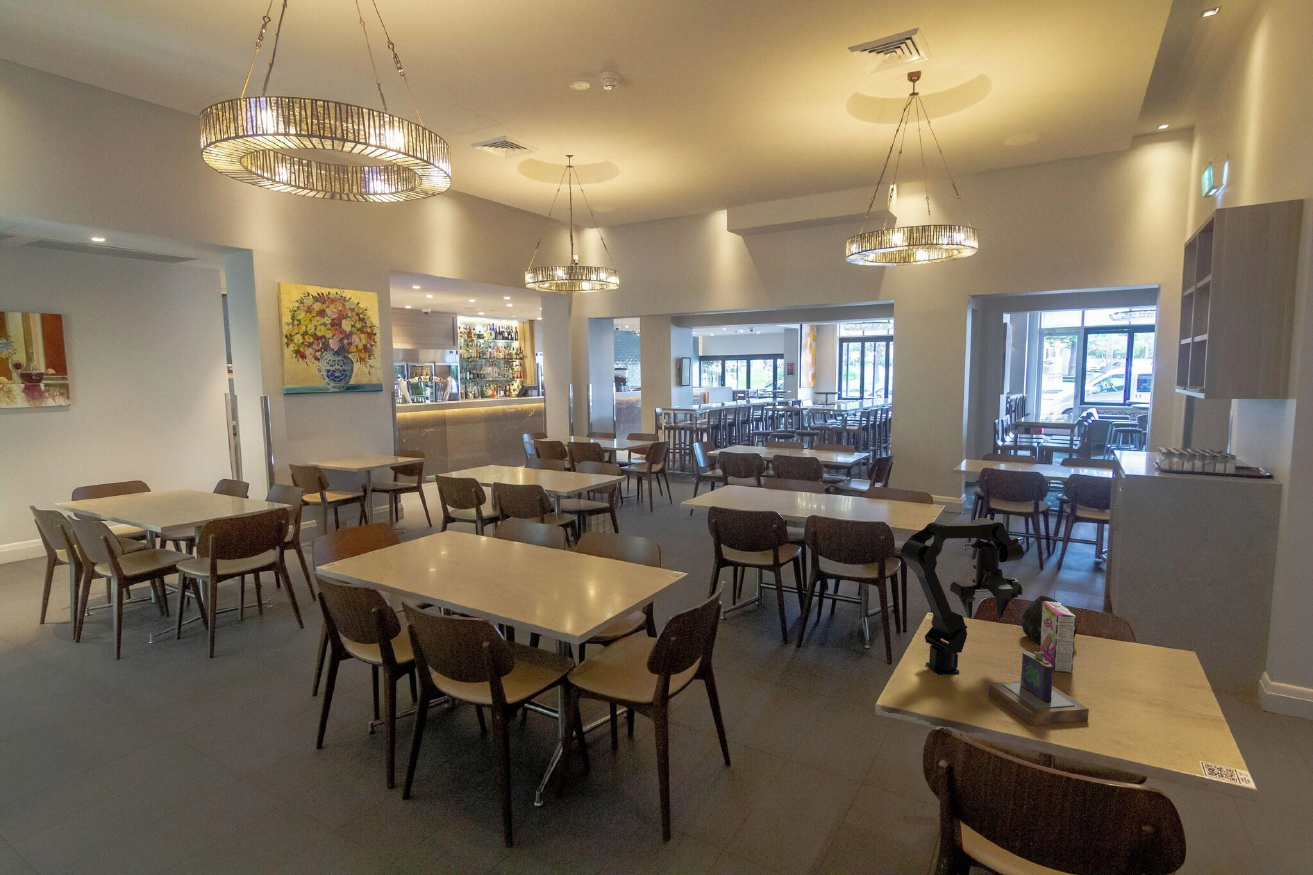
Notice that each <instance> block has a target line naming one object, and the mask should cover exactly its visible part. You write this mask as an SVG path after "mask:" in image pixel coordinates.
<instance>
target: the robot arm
mask: <svg viewBox="0 0 1313 875" xmlns="http://www.w3.org/2000/svg"><path fill="white" fill-rule="evenodd" d="M932 538H933V541H932V543H931V544H930V545H928V544H924V543H926V542H927V541H929V540H931V539H932ZM948 539H949V540H950V539H951V540H954V539H977V540H976V541H975V542H973V543H972V544H971V546H970V547H971V548H972V549H976V563H975V564H973V565H972V568H973V569H974V570H975V578H972V583H973V584H971V583H968V582H966V581H965V580H963V581H962V580H961V581H959V580H957V581H952V582H951V583H950V586H949V588H950V590H949V591H950V592H952V593H953V594H955V595H956V596H958V598H959V600H960V602H961V604H962V607H963V609H964V611H965V614H966V617H967V618H968V619H969V620H971V619H972V616H973V605H974V604H973V602H974V601H975V600H976V597H974V596H975V595H976V593H977V592H978V593H979V592H982V593H983V592H990V593H991V594H992V596H993V597H994V598H995V600H996V601H995V602H996V603H995V605H996V615H997V617H998V618H1002V617H1003V615H1004V612H1005V611H1006V609H1007V606H1008V605H1009V603H1010V601H1012V600H1013V599H1016V598H1018V597H1019V596H1022V595H1023V590H1024V588H1023V586H1022V585H1021V584H1020V583H1019V580H1018V579H1017V578H1005V577H1003V572H1004V571H1003V570H1002V569H1001V568H1000V563H1009V562H1011V563H1012V562H1019V561H1021V560H1022V559H1023V558H1024V555H1025V551H1024V548H1023V546H1022V544H1021V543H1020V542H1019V538H1018V537H1014V536H1010V535H1009V534H1008V532H1007V530H1006V528H1005V525H1004V523H1003V522H1001V521H996V520H993V519H989V518H985V517H979V518H976V519H972V520H971V521H969V522H936V521H935V522H934V521H933V522H929V523H927V525H926V526H925V527H924V528H923V529H921V530H919V531H917V532H915V533H913V534H912V535H911V536H910V537H909V539H907V540H906V541H905V542H904V543H903V545H902V547H901V549H900V555H901V558H902V559H903V560H904V562H905V563H906V565H907V567H909V569H911V570H912V571H913V573H914V574H916V575H915V576H916V577H917V579H918V581H919V584H920V586H921V589H922V592H923V593H924V597H925V599H926V601H927V603H928V606H929V607H930V610H931V613H932V619H931V628H930V629H929V630H928V631H927V633H926V634H925V635H924V640H925V643H926V644H929V659H928V662H925V665H926V666H927V667H928V668H929V669H931V670H932V671H933V672H935V674H937V675H948V674H950V675H951V674H960V670H959V669H958V665H959V662H958V661H959V654H960V653H962V652H963V649H964V646H965V643H966V640H967V636H968V631H967V630H968V628H969V627H968V626H967V625H966V623H965V619H964V617H963V615H961V614H959V613H956V612H954V611H952V609H951V607H950V604H949V601H948V599H947V597H946V594H945V592H944V590H943V587H942V584H941V582H940V579H939V577H938V574H937V572H936V567H937V564H938V560H937V558H938V556H939V555H940V554H941V553H942V552H943V551H942V550H943V547H944V542H945V541H946V540H948Z"/></svg>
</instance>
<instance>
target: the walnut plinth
mask: <svg viewBox="0 0 1313 875" xmlns="http://www.w3.org/2000/svg"><path fill="white" fill-rule="evenodd" d="M1020 683H1021V680H1016V681H1001V682H989V686H988V695H989V696H990V697H992V698H993V699H994V700H995V701H997V702H998V703H1000V704H1001V705H1003V706H1004V707H1005V708H1006V709H1008V710H1009V711H1010V712H1012V714H1015V715H1016V716H1017V717H1019V718H1020V719H1021V720H1023V721H1024V722H1025V723H1026V724H1028V725H1029V726H1039V725H1041V726H1043V725H1053V724H1054V725H1056V724H1069V723H1078V722H1088V721H1089V715H1090V714H1089V713H1090V712H1089V711H1090V708H1088V707H1087V706H1085V705H1084V704H1082V703H1081V702H1079V701H1077V700H1076V699H1074V698H1072V697H1071V696H1069V695H1067V694H1066V693H1065V692H1063V691H1061V689H1058V688H1057V687H1055V686H1054V685H1052V694H1051V703H1046V702H1043V701H1041V700H1040V699H1038V697H1035V695H1033V694H1031V693H1029V692H1028V691H1027V690H1025V689H1023V688H1022V687H1021V685H1020Z"/></svg>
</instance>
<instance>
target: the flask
mask: <svg viewBox="0 0 1313 875" xmlns="http://www.w3.org/2000/svg"><path fill="white" fill-rule="evenodd" d="M1042 653H1043V652H1040V651H1033V653H1032V652H1029V651H1023V652H1022V653H1021V654H1022V655H1021V656H1022V660H1021V673H1020V681H1021V683H1020V685H1021V687H1022V688H1023V689H1025V690H1027V691H1028V692H1029V693H1031V694H1033V695H1035V697H1038V699H1040V700H1041V701H1043V702H1046V703H1051V694H1052V686H1053V673H1054V670H1053V666H1052V665H1051V664H1050V663H1049V662H1048V661H1046V660H1044V657H1043V656H1042Z"/></svg>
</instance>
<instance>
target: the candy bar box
mask: <svg viewBox="0 0 1313 875" xmlns="http://www.w3.org/2000/svg"><path fill="white" fill-rule="evenodd" d="M1066 607H1067V606H1065V604H1063V603H1062V602H1061V601H1060V602H1059V601H1058V602H1048V601H1043V607H1042V627H1041V643H1039V644H1040V645H1039V646H1040V647H1039V652H1043V653H1042V656H1043V657H1044V660H1046V661H1048V662H1049V663H1050V664H1051V665H1052V666H1053V672H1057V673H1071V674H1072V673H1073V669H1074V668H1073V665H1074V654H1075V653H1074V652H1075V637H1076V635H1075V623H1076V624H1077V615H1075V614H1074V613H1073V612H1070V611H1069V610H1068V609H1067V608H1068V607H1067V608H1066Z"/></svg>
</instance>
